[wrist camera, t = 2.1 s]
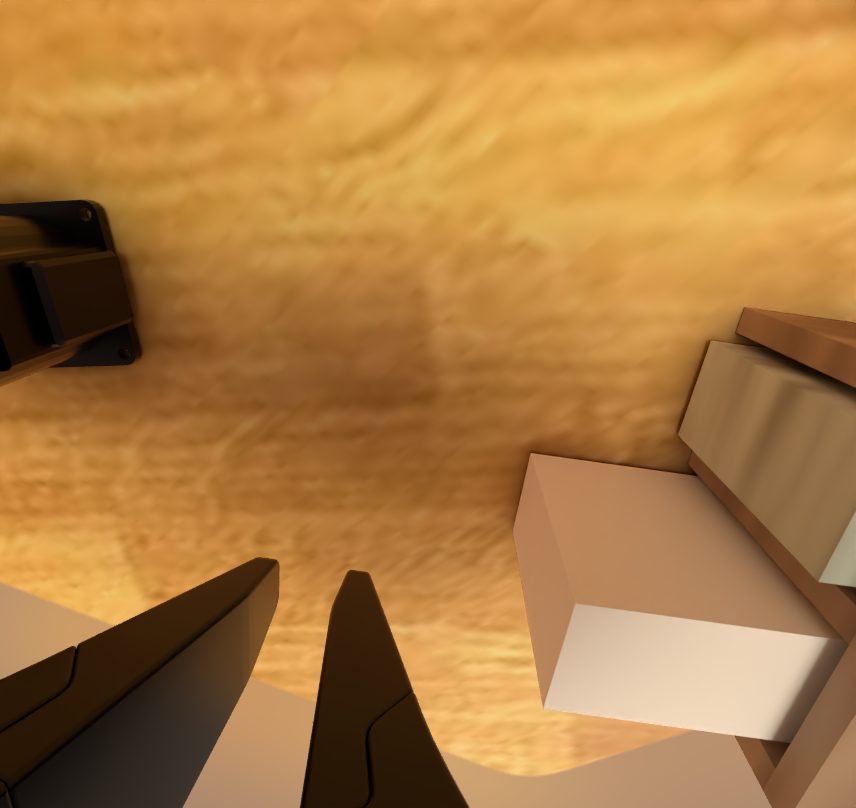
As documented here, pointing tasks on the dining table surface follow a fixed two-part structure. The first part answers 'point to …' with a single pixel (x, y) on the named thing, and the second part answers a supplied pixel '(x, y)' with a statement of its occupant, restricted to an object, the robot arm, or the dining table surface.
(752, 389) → the walnut housing
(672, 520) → the white plug
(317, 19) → the dining table surface
